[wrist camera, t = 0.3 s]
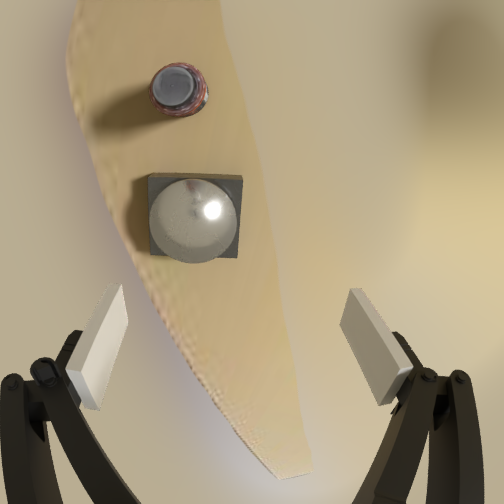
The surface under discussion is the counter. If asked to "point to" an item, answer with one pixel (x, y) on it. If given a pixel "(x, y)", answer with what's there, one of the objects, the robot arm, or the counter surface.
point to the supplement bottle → (178, 90)
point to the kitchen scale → (194, 215)
